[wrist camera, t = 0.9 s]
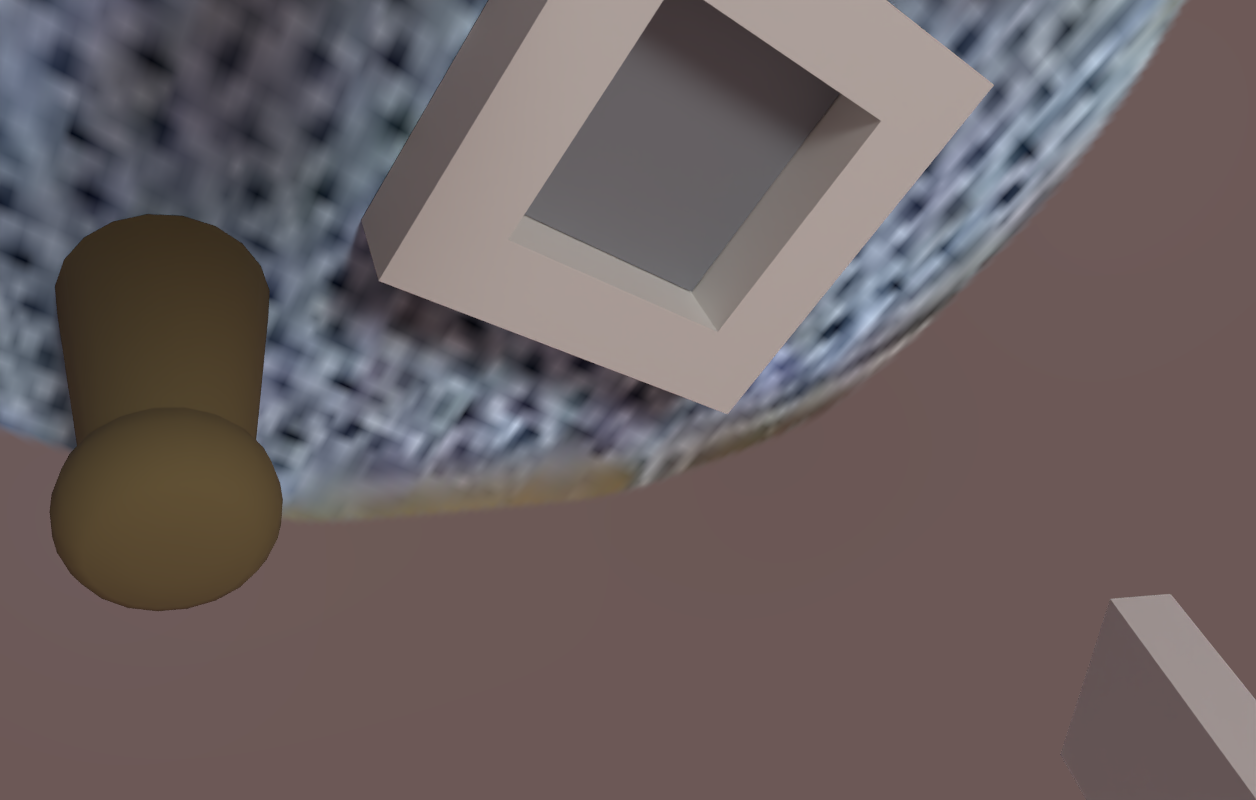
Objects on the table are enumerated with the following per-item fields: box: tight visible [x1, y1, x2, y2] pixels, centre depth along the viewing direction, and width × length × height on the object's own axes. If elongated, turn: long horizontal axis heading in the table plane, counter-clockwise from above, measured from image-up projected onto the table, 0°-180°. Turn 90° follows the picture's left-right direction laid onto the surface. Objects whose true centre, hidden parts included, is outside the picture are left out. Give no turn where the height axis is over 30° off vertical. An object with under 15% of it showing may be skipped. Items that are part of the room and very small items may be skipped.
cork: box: [50, 214, 283, 611], centre depth 29 cm, size 6×6×11 cm
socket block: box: [361, 0, 994, 414], centre depth 34 cm, size 14×14×4 cm
